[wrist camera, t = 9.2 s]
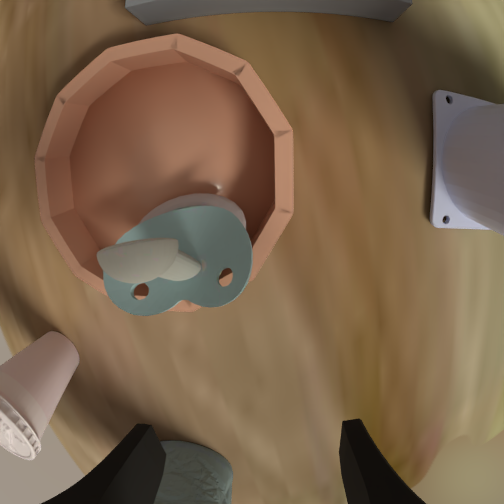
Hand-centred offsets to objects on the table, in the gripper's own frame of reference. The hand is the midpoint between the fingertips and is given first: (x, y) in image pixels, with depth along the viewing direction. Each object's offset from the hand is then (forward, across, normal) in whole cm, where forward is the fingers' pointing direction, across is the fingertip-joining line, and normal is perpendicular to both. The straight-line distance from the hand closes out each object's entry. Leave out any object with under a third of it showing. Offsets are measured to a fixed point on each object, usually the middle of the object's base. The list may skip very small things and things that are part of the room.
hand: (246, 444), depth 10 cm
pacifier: (+7, +3, -5) cm, 9 cm away
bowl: (+9, +4, -9) cm, 14 cm away
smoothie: (+10, +16, +2) cm, 19 cm away
